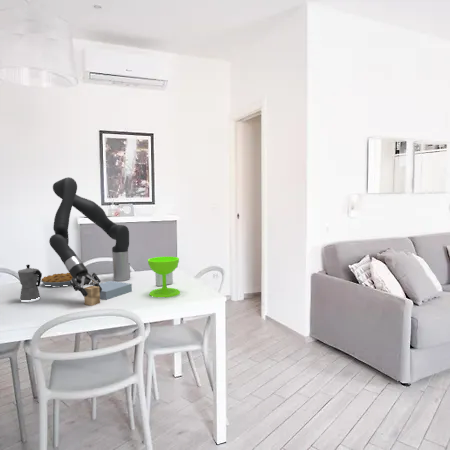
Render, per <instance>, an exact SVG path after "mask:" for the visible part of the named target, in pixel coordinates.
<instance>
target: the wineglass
mask: <svg viewBox="0 0 450 450" xmlns="http://www.w3.org/2000/svg"><path fill="white" fill-rule="evenodd" d="M147 262H148V266H149V268H150V269H151V271H152V272H153V273H154V274H155V273H157V274H160V275H162V282H163V285H162V286H161V287H160V288H156V289H152V290H151V291H150V292H149V294H148V295H149V296H150V295H151V296H150V297H152V296H153V297H152V298H158V297H165V298H172V297H176V296H178V295H180V293H181V291H180V289H178V288H175V287H174V288H173V287H167V285H166V274H169V273H171V272H172V273H173V272H175V270H176V269H177V267H178V266H179V262H180V257H176V256H156V257H151V258H150V257H149V258H148V259H147Z"/></svg>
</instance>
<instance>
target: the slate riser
mask: <svg viewBox="0 0 450 450" xmlns="http://www.w3.org/2000/svg"><path fill="white" fill-rule="evenodd" d="M99 285H100V286H101V288H102V291H101V292H100V300H110V299H113V298H115V297H118V296H122V295H125V294H127V293H131V292H133V287H132V285H133V284H132V283H127V282H123V281H114V280H113V281H112V280H108V281H105V282H100V283H99Z"/></svg>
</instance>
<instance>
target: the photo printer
mask: <svg viewBox="0 0 450 450" xmlns="http://www.w3.org/2000/svg"><path fill="white" fill-rule="evenodd" d="M154 274H155V285H156V286H157V287H163V282H162V275H160V274H157V273H155V272H154ZM173 275H174V274H173V272H171V273H169V274H166V286H167V285H171V284H173V283H174V279H173V278H174V277H173Z"/></svg>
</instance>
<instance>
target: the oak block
mask: <svg viewBox="0 0 450 450" xmlns="http://www.w3.org/2000/svg"><path fill="white" fill-rule="evenodd" d="M83 288H84V289H85V290H86V291H87V293H88V295H87V296H86V297H84V296H83V297H84V300H83V301H84V305H85V306H91V307H93V306H96V305H98V304H99V305H100V304H101V299H100V290H99V287H97V286H93V285H90V286H87V287H83Z"/></svg>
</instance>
